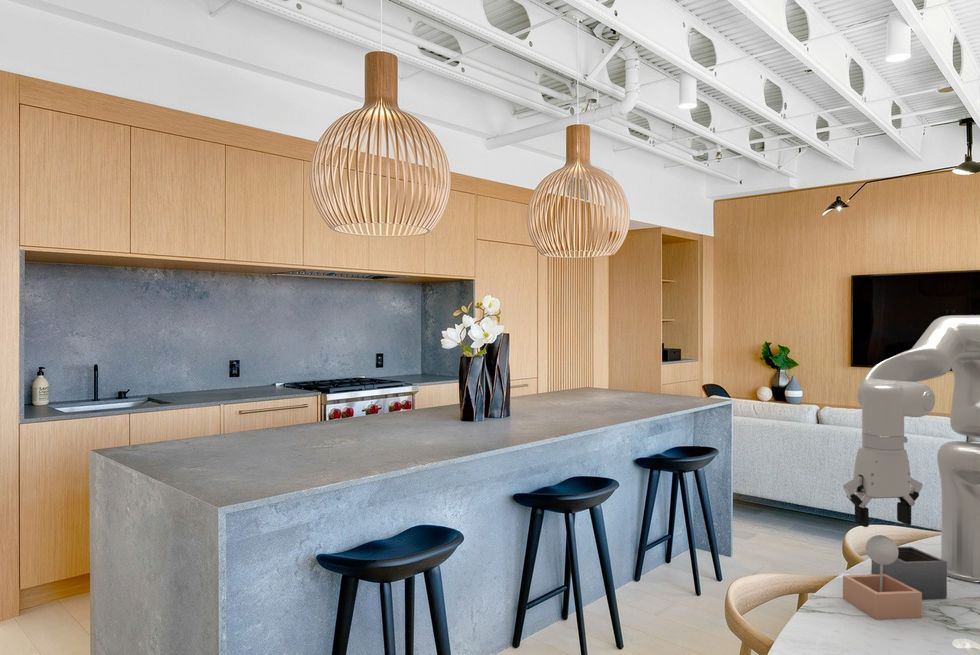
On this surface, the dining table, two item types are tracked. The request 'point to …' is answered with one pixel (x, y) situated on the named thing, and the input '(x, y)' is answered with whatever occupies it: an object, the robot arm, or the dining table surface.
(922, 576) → the box
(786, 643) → the dining table surface
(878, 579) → the tool holder
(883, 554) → the lollipop
